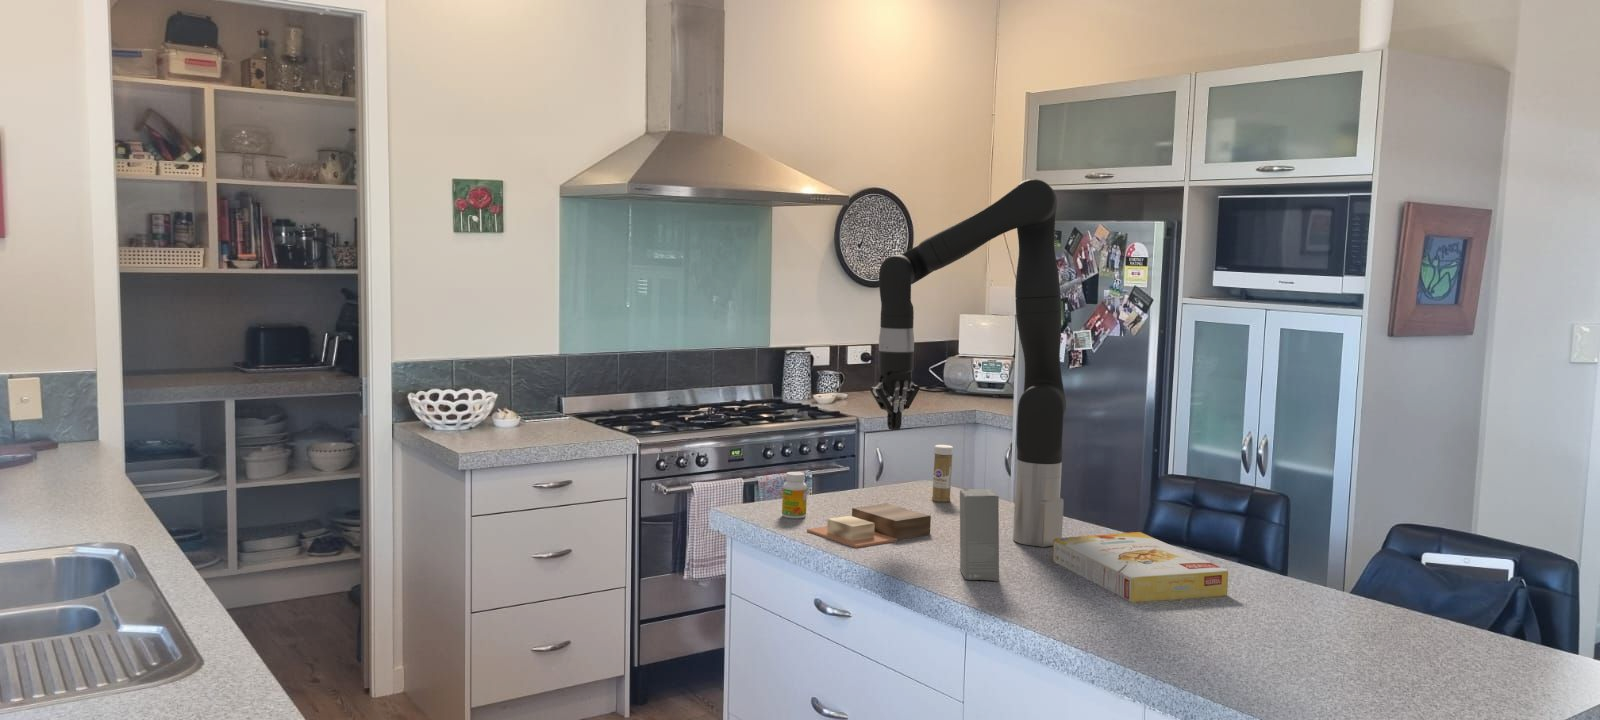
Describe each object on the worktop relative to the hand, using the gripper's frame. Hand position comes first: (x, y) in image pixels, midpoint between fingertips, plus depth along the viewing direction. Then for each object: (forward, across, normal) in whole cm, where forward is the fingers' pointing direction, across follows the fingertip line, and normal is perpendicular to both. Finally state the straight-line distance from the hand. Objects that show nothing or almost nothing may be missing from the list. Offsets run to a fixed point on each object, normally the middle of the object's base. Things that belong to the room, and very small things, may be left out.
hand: (894, 429), depth 253 cm
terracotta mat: (+21, -13, -1) cm, 25 cm away
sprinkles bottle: (+22, +31, +15) cm, 40 cm away
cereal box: (+23, +12, -54) cm, 60 cm away
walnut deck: (+22, -2, -1) cm, 22 cm away
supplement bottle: (+21, -11, +20) cm, 31 cm away
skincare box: (+22, -13, -36) cm, 44 cm away
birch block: (+19, -14, -2) cm, 24 cm away
